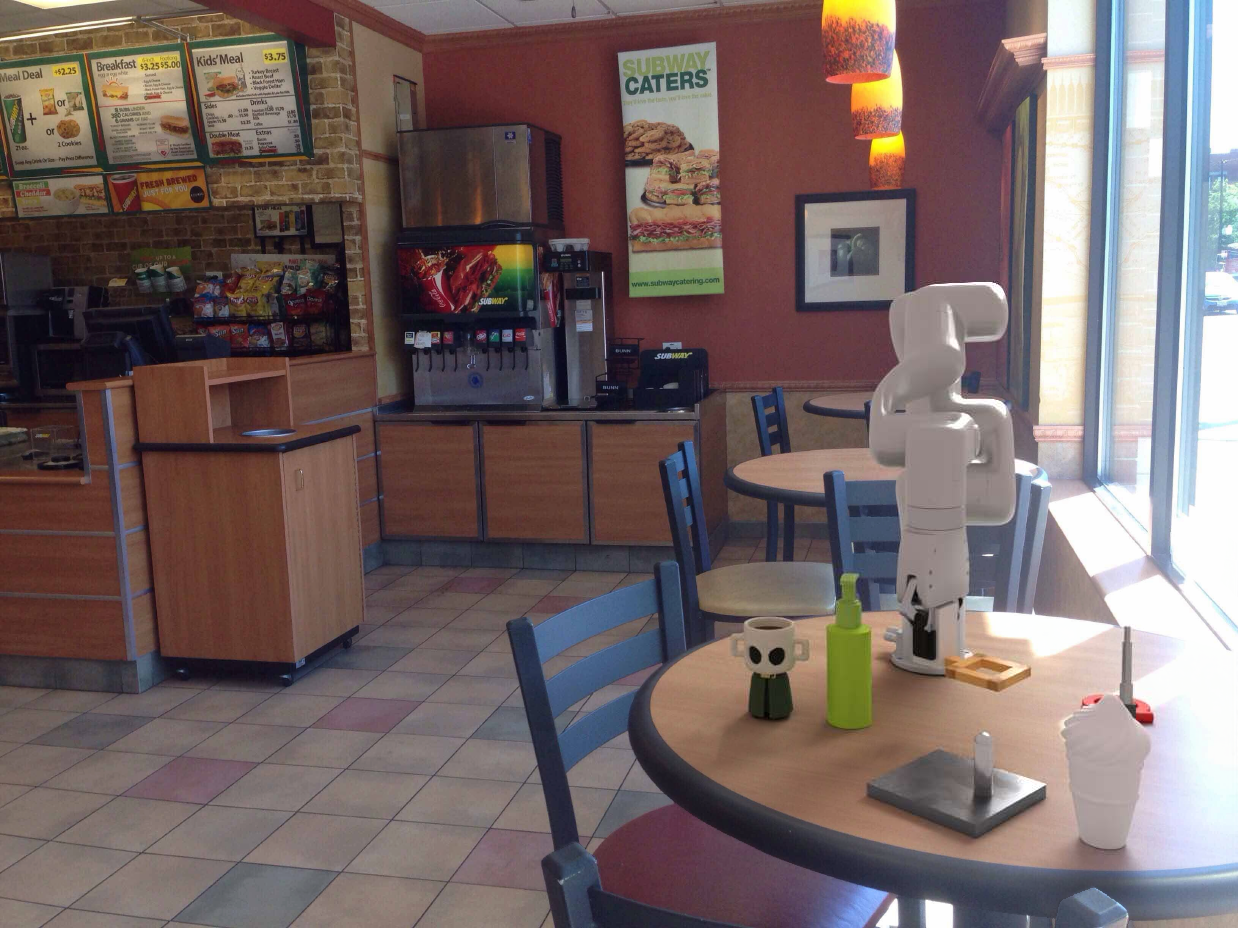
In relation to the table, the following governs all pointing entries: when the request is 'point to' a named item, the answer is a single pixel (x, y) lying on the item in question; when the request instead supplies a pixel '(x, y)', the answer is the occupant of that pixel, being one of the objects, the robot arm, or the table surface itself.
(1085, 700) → the tow hook
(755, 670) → the character mug
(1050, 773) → the table surface
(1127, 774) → the soft serve ice cream cone
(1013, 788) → the plate
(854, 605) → the soap dispenser
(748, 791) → the table surface
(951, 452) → the robot arm
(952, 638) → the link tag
